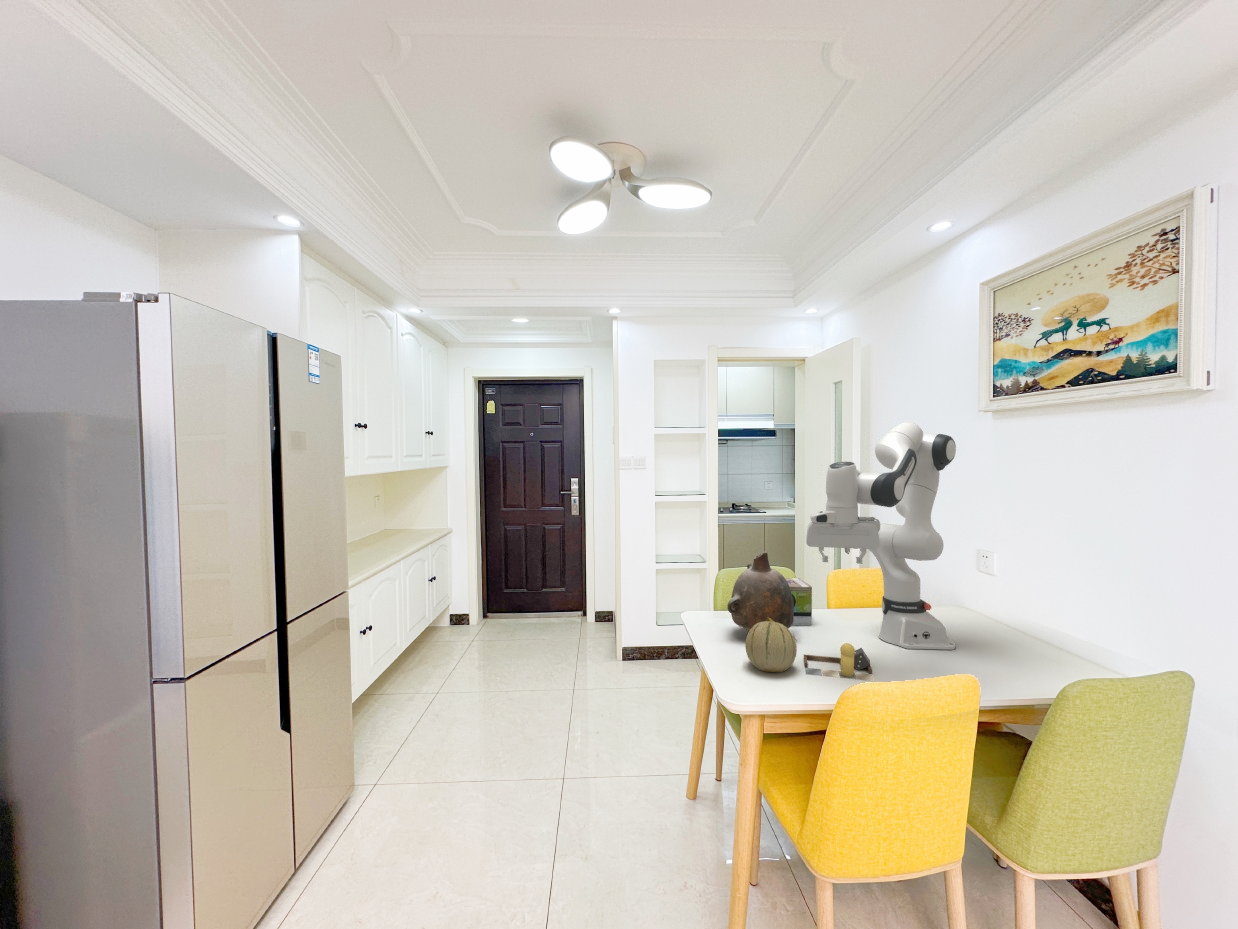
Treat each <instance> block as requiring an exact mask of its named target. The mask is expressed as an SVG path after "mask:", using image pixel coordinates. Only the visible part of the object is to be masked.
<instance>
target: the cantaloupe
mask: <svg viewBox="0 0 1238 929" xmlns="http://www.w3.org/2000/svg"><path fill="white" fill-rule="evenodd" d="M767 620H769V621H764V622H759V623H757V624H756V625H754V626H753V627H752V628H751V629H750V630H748V633H747V635H746V639H745V652H746V656H747V658H748V660H749V661H750V662H751V664H752V665H753V666H754V667H755V668H756V669H758V670H760V671H761V672H765V673H766V672H767V673H783V672H785V671H787V670H788V669H790V668H791V667H792V665H793V664H794V662H795V660H796V657H797V650H798V649H797V648H798V646H797V641H796V639H795V636H794V635H793V633H792V631H791V630H790V629H789V628H787V627H786V626H784V625H783V624H780V623H777V622H774V621H773V620H772V619H770V618H767Z"/></svg>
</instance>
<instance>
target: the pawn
mask: <svg viewBox="0 0 1238 929" xmlns="http://www.w3.org/2000/svg"><path fill="white" fill-rule="evenodd" d="M839 648H840V658H841V665H840V671H841V675H843V676H845V677H853V676H854V672H855V666H854V654H855V650H856V649H855V647H854V646H853V644H851V643H848V642H847V643H843V644H842V645H841V646H840V647H839Z"/></svg>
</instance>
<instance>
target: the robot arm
mask: <svg viewBox="0 0 1238 929" xmlns="http://www.w3.org/2000/svg"><path fill="white" fill-rule="evenodd" d="M956 448H957V445H956V442H955V440H954V438H953V437H952V436H950V435H947V434H943V433H938V434H936V433H928V432H925V433H924V431H923V429H922V428H921V427H920V425H918V424H916V423H914V422H911V421H904V422H901V423H899V424H897V425H895V426H894V427H892V428H890V430H888V431H887V432H886V433H885V434H884V435H883V436H881V438H880V439H879V440H878V441H877V443H876V444H875V448H874V451H875V452H874V453H875V454H874V455H875V457H876V459H877V461H878V462H879V463H880V464H881V465H882V466H883V467H885V468H887V469H889V470H891V471H888V472H862V471H860V470H858V469H857V466H856V463H854V462H852V461H838V462H834V463H831V464H830V465H829V466H828V467H827V470H826V471H827V472H826V477H825V478H826V480H825V493H826V496H827V498H826V499H827V500H826V503H825V510H822V511H817V512H813V513H811V515H810V521H811V522H810V523H809V524H808V525H807V530H806V535H805V536H806V537H805V540H806V541H805V543H806V545H807V546H808V547H811V548H818V551H819V552H818V553H819V554H820V555H821V556H822V563H829V556H828V555H825V553H824V551H825V548H834V549H860V552H861V553H860V555H859V556H856V557H855V559H856V561H855V562H856V564H857V565H858V564H859V565H862V564H863V558H864V557H865V556H866V555H867V550H868V551H869V552H871V553H872V555H873V556H874V557H875V558H876V560H877V562H878V564H879V567H880V569H881V572H882V577H883V578H882V580H883V581H882V582H883V596H882V598H881V599H882V600H881V611H882V613H883V614H882V620H881V625H880V626H881V627H880V630H879V632H878V633H879V634H878V638H879V639H881V640H882V641H884V642H886V643H889V644H893V645H896V646H899V647H902V648H904V649H907V650H908V649H911V650H912V649H913V650H947V651H948V650H950V651H951V650H955V649H956V642H955V641H954V640H953V639H952V638H951V637H949V636H948V634H947V630H946V627H945V625H944V624H943V623H942V622H941V621H940V620H939V619H938V618H936V617H935V616H934V615H933V614H931V613H930V612H929V611H931V610H932V605H931V604H930V603H929V602H926V601H925V600H923V599H921V578H920V576H919V574H918V573H917V572H916V571H915V570H913V569H912V568H911V567H910V566H909V564H908V563H907V561H906V560H913V561H923V562H924V561H935V560H937V559H938V558H940V556H941V555H942V554H943V550H944V540H943V538H942V536H941V534H940V533H939V532H938V531H937V530H936V529H935V528H934V526H933V524H932V511H933V507H934V504H935V499H936V497H937V492H938V490H939V485H940V471H943V470H945V468H946V467H947V466H948V465H950V464H951V463H952V462H953V460H954V459H955V456H956V451H957V449H956ZM859 504H861V505H869V506H879V507H884V508H893V507H895V509H896V512H897V513H898V514H899V515H900V516H901V517H903V518H904V519H905V520H904V524H903V525H901V524H892V523H881V522H880V520H879V519H877V518H876V517H875V516H874V517H873V516H868V517H867V516H859Z"/></svg>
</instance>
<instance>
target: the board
mask: <svg viewBox="0 0 1238 929" xmlns="http://www.w3.org/2000/svg"><path fill="white" fill-rule="evenodd" d="M808 661H812V662H813V661H814V662H822V663H823V662H824V663H834V664H840V666H841V657H835V656H826V655H825V656H823V655H814V654H803V663H804V664H803V665H804V671H805V675H810V676H819V677H821V676H822V677H832V678H841V679H850V680H851V679H852V680H861V681H868V682H869V681H871V682H875V678H874V676H873V669H872V667H871V664H870V665H869V666H867V667H865V668H866V670H867V672H868V673H866V672H865V673H864V672H855V671H854V676H853V677H845V676H843V675H841V670H832V669H824V668H813V667H809V665H808V664H809V663H808Z"/></svg>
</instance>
